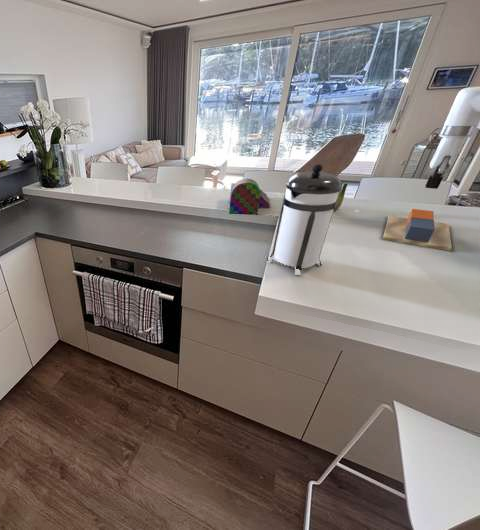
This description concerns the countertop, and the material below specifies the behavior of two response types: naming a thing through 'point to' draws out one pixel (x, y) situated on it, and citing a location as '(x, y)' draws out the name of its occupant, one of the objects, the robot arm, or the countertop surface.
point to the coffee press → (305, 217)
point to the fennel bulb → (340, 196)
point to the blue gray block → (419, 229)
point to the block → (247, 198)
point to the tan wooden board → (397, 233)
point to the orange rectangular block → (420, 215)
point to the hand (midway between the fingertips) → (431, 187)
